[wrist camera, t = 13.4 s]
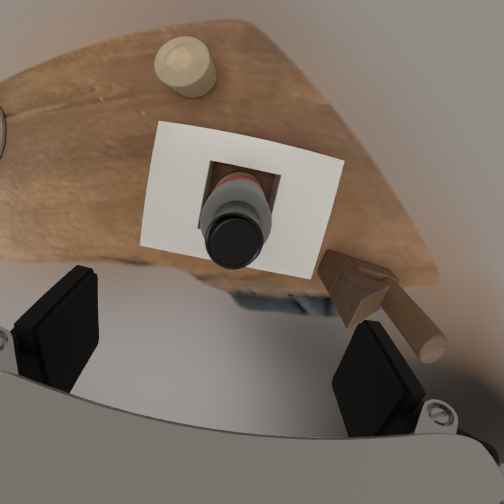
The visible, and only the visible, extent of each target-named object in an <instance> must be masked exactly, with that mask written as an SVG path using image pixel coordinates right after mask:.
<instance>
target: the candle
mask: <svg viewBox="0 0 504 504" xmlns="http://www.w3.org/2000/svg"><path fill="white" fill-rule="evenodd" d="M154 69H155V72H156V75H157V76H158V78H159V79H160V80H161V81H162V82H164V83H165V84H166V85H168V86H169V87H171V88H172V89H173V90H175V91H176V92H177V93H179V94H180V95H182V96H184V97H188V98H197V97H201V96H203V95H205V94H207V93H208V92H209V91H210V90H211V89H212V88H213V86H214V85H215V82H216V78H217V73H216V69H215V66H214V64H213V61H212V59H211V56H210V54H209V51H208V49H207V47H206V46H205V45H204V43H202V42H201V41H200V40H198V39H196V38H193V37H187V36H184V37H177V38H174V39H172V40H170V41H168V42H167V43H165V44H164V45H163V46H162V47H161V48H160V49H159V51H158V52H157V54H156V57H155V61H154Z"/></svg>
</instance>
